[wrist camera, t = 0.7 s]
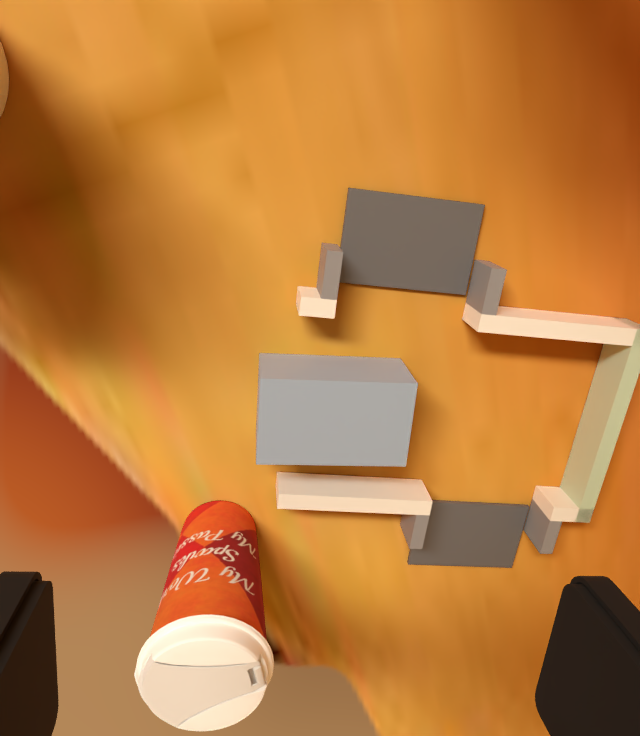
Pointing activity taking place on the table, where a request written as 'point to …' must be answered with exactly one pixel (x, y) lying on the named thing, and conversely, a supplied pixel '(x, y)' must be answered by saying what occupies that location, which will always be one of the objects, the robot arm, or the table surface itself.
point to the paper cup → (209, 626)
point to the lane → (451, 275)
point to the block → (333, 410)
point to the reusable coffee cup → (3, 79)
